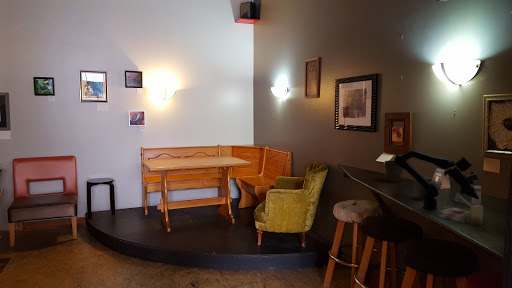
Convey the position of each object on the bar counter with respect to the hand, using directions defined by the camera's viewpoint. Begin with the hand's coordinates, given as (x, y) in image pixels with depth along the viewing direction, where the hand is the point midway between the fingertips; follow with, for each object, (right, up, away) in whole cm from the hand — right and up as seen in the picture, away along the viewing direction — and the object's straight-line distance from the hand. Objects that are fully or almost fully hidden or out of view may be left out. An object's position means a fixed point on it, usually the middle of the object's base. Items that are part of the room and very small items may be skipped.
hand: (479, 198), depth 220 cm
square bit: (-1, -7, +2) cm, 7 cm away
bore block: (-14, -10, -3) cm, 17 cm away
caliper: (+4, -8, +21) cm, 23 cm away
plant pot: (-15, 0, +93) cm, 94 cm away
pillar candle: (-15, -6, +39) cm, 43 cm away
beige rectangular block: (-11, -11, -16) cm, 22 cm away
